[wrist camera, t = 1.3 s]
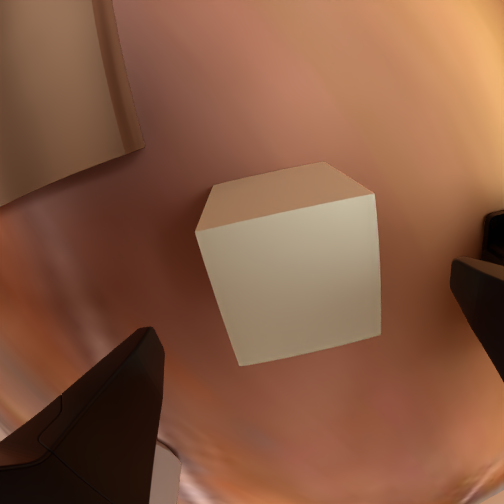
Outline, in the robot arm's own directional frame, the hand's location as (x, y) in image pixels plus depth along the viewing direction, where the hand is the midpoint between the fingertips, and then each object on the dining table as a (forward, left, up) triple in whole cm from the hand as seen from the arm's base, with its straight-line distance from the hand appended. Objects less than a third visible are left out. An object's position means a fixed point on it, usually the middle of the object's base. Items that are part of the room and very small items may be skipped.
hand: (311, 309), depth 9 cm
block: (0, 0, -7) cm, 7 cm away
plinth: (+10, -10, -7) cm, 16 cm away
